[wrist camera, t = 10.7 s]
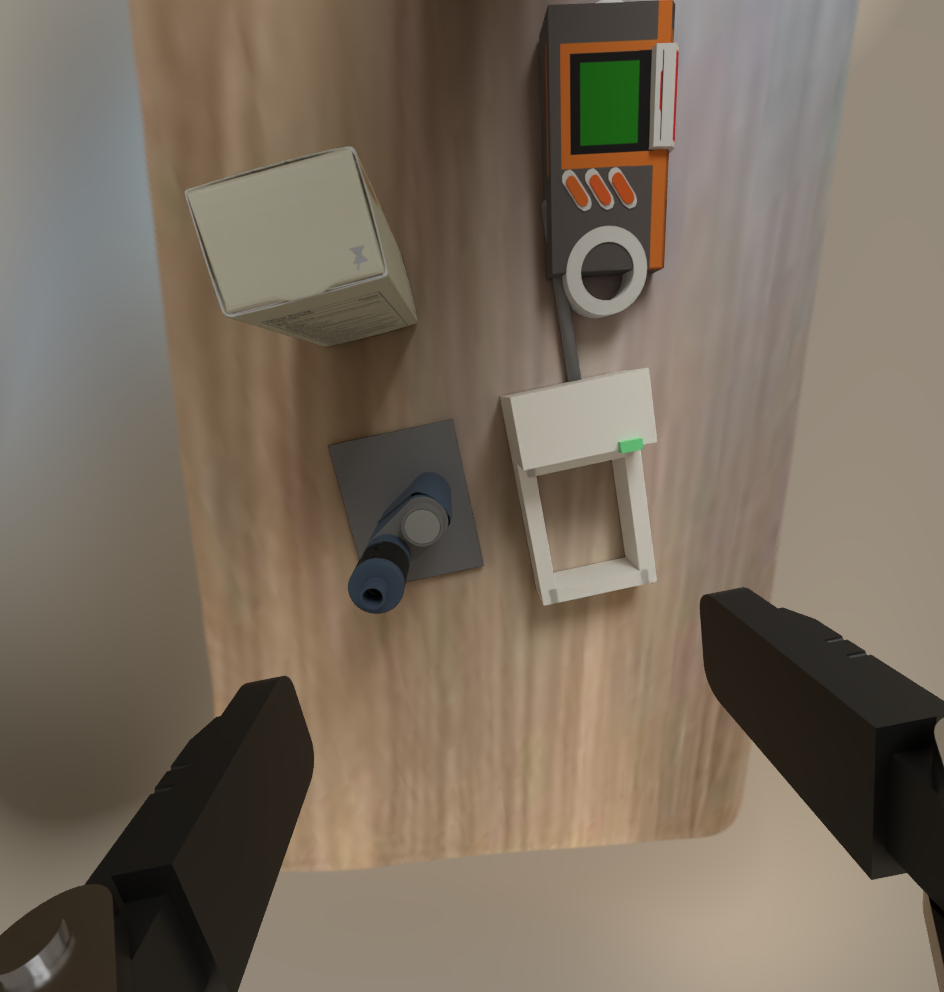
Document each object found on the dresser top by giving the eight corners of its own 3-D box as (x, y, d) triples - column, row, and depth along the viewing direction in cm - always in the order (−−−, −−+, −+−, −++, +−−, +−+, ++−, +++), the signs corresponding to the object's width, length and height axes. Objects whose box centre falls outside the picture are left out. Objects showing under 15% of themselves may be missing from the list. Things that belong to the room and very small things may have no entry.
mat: (329, 445, 29) (327, 446, 29) (452, 418, 29) (452, 419, 29) (369, 588, 32) (368, 590, 31) (483, 563, 32) (483, 565, 31)
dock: (466, 219, 27) (470, 176, 22) (591, 192, 27) (626, 143, 22) (536, 589, 32) (553, 628, 27) (641, 567, 32) (678, 601, 27)
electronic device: (554, 317, 26) (549, -10, 22) (544, 323, 29) (537, 32, 25) (669, 310, 27) (685, -16, 23) (648, 316, 30) (658, 27, 25)
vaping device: (373, 518, 30) (326, 598, 18) (430, 462, 29) (418, 507, 18) (402, 544, 31) (374, 638, 19) (458, 489, 30) (465, 551, 18)
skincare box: (400, 249, 27) (363, 136, 15) (420, 325, 28) (399, 275, 16) (294, 275, 27) (174, 183, 15) (317, 350, 28) (221, 319, 16)
